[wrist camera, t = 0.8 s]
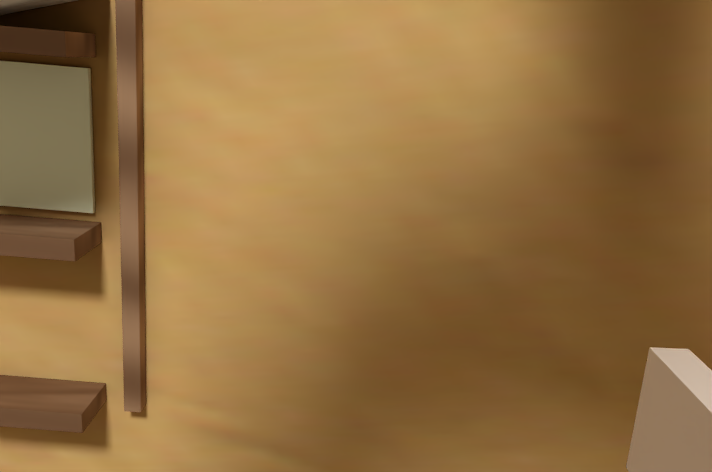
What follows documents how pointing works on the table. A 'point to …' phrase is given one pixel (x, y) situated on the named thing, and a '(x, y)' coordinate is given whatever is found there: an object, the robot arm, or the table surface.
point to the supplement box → (26, 5)
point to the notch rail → (87, 236)
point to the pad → (46, 137)
